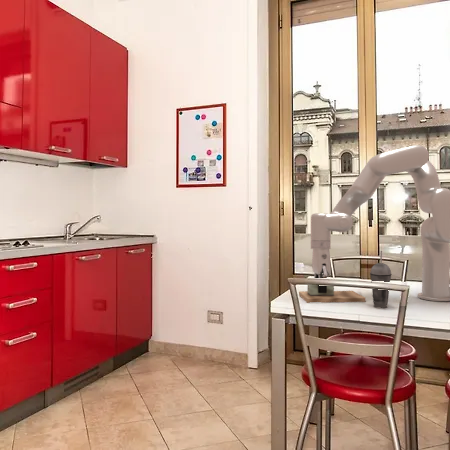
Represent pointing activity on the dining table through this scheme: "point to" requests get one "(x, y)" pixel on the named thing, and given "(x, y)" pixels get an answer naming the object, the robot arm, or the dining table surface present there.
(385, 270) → the beverage cup
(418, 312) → the dining table surface
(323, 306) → the dining table surface
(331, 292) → the sanding block
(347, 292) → the board
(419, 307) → the dining table surface
